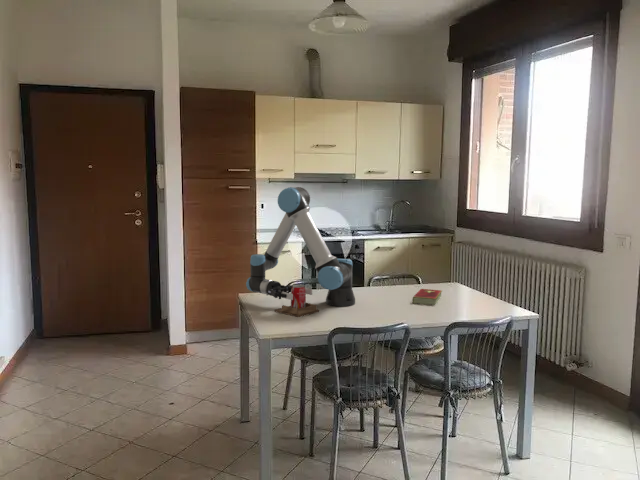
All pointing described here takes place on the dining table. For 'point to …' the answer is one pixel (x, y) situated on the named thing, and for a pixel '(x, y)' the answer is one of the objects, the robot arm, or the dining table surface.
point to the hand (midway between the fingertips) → (302, 294)
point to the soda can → (298, 296)
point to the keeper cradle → (298, 310)
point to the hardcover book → (427, 296)
